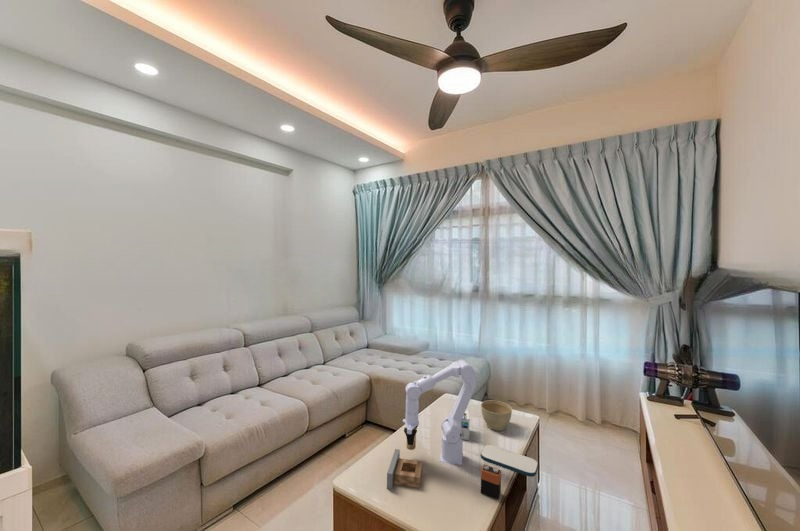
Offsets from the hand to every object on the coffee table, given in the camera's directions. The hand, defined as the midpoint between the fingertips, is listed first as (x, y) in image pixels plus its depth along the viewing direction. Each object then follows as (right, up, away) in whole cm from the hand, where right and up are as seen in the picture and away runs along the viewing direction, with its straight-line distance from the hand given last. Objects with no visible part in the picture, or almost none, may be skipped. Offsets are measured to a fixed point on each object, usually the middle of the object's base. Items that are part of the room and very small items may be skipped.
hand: (411, 441), depth 138 cm
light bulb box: (+27, -9, +22) cm, 36 cm away
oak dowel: (0, -2, 0) cm, 2 cm away
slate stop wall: (-8, -8, -11) cm, 15 cm away
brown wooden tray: (-1, -8, -12) cm, 14 cm away
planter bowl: (+47, -10, +31) cm, 57 cm away
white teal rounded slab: (+44, -10, +1) cm, 45 cm away
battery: (+30, -10, -19) cm, 36 cm away
